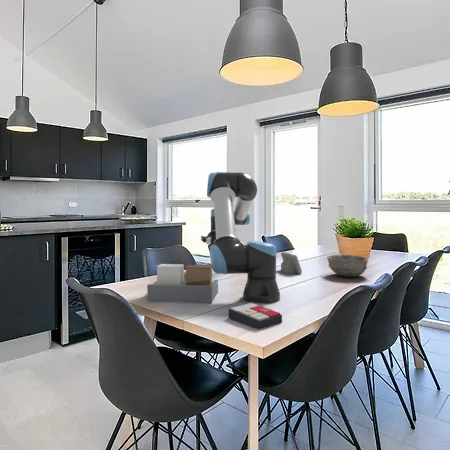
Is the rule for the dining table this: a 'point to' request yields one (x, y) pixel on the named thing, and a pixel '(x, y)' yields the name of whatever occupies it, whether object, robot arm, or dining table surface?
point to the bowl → (347, 265)
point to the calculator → (255, 316)
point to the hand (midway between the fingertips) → (207, 241)
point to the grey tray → (182, 292)
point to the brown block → (199, 275)
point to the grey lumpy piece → (290, 263)
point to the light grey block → (170, 274)
